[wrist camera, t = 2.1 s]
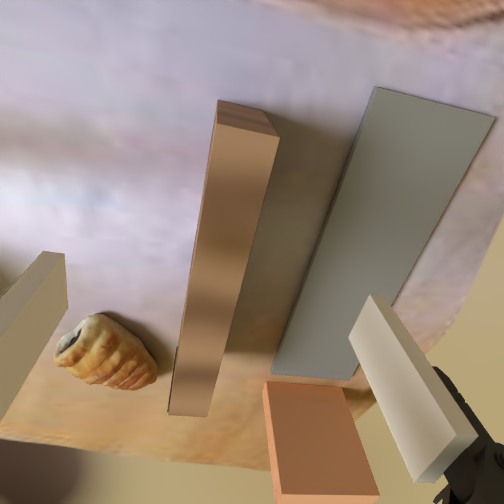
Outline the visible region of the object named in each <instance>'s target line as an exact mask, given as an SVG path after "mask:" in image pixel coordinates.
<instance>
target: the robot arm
mask: <svg viewBox="0 0 504 504" xmlns="http://www.w3.org/2000/svg"><path fill="white" fill-rule="evenodd" d="M67 309H68V300H67V285H66V270H65V255H64V254H62V253H55V252H47V251H43V252H42V253H41V254H40V255H39V256H38V257H37V258H36V260H35V261H34V262H33V263H32V264H31V265H30V266H29V268H28V269H27V270H26V271H25V272H24V273H23V274H22V275H21V277H20V278H19V279H18V280H17V281H16V282H15V283H14V285H13V286H12V287H11V288H10V289H9V290H8V291H7V292H6V294H5V295H4V296H3V297H2V298H1V299H0V422H1V421H2V419H3V417H4V416H5V414H6V412H7V410H8V409H9V407H10V405H11V404H12V402H13V400H14V399H15V397H16V395H17V393H18V392H19V390H20V388H21V387H22V385H23V383H24V382H25V380H26V378H27V377H28V375H29V373H30V371H31V370H32V368H33V366H34V365H35V363H36V361H37V360H38V358H39V356H40V354H41V353H42V351H43V349H44V348H45V346H46V344H47V343H48V341H49V339H50V337H51V336H52V334H53V332H54V331H55V329H56V327H57V326H58V324H59V322H60V320H61V319H62V317H63V315H64V314H65V312H66V310H67ZM348 338H349V340H350V342H351V345H352V347H353V349H354V351H355V353H356V356H357V358H358V360H359V362H360V364H361V367H362V369H363V371H364V373H365V375H366V378H367V380H368V382H369V384H370V387H371V389H372V391H373V393H374V395H375V398H376V400H377V402H378V404H379V406H380V409H381V411H382V413H383V415H384V418H385V420H386V422H387V424H388V426H389V429H390V430H391V433H392V435H393V437H394V439H395V442H396V444H397V446H398V448H399V451H400V453H401V455H402V457H403V460H404V462H405V464H406V466H407V468H408V470H409V473H410V475H411V477H412V479H413V481H414V483H435V482H436V481H437V480H438V478H440V477H441V475H442V474H443V473H444V475H445V477H446V479H447V481H448V483H449V484H448V485H447V486H446V487H445V488H444V489H443V490H442V491H441V492H440V493H439V494H438V495H437V496H436V497H435V499H434V501H433V502H434V503H435V504H437V503H438V502H439V501H440V500H441V499H443V502H442V504H504V445H502V444H500V443H495V442H494V441H493V439H492V438H491V437H490V435H489V434H488V432H487V431H486V430H485V428H484V427H483V425H482V424H481V422H480V421H479V419H478V418H477V417H476V415H475V414H474V412H473V411H472V410H471V408H470V407H469V405H468V404H467V403H465V400H464V398H463V397H462V395H461V394H460V393H458V390H457V388H456V387H455V385H454V384H453V383H452V381H451V380H450V378H449V377H448V376H447V375H445V374H444V373H443V372H442V371H441V370H440V369H439V368H438V367H433V366H431V365H430V363H429V362H428V360H427V359H426V357H425V356H424V354H423V353H422V351H421V350H420V348H419V347H418V345H417V344H416V342H415V341H414V339H413V338H412V336H411V335H410V333H409V332H408V330H407V329H406V327H405V326H404V325H403V323H402V322H401V320H400V319H399V317H398V316H397V314H396V313H395V311H394V310H393V308H392V307H391V305H390V304H389V302H388V301H387V299H386V298H385V296H379V295H371V294H369V296H368V298H367V300H366V302H365V304H364V306H363V308H362V310H361V312H360V315H359V317H358V319H357V321H356V323H355V325H354V327H353V329H352V331H351V333H350V335H349V337H348Z"/></svg>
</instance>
